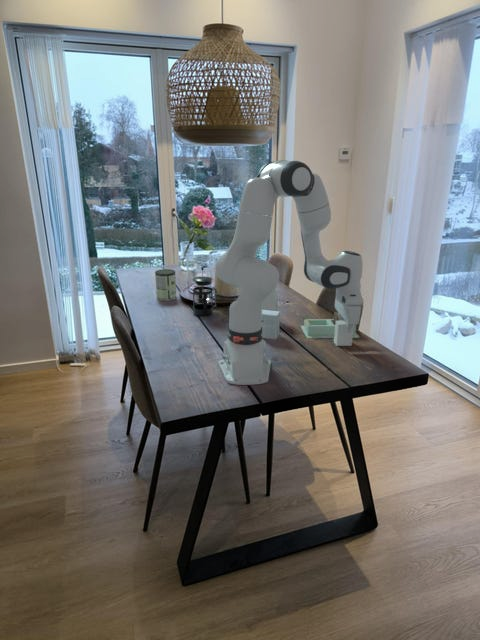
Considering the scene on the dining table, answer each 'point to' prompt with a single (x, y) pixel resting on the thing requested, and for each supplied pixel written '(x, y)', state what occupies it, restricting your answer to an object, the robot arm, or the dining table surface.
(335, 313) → the walnut block
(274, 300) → the milk bottle
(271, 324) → the small box
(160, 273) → the coffee can
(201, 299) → the french press
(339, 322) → the plug block
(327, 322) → the dock
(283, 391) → the dining table surface
